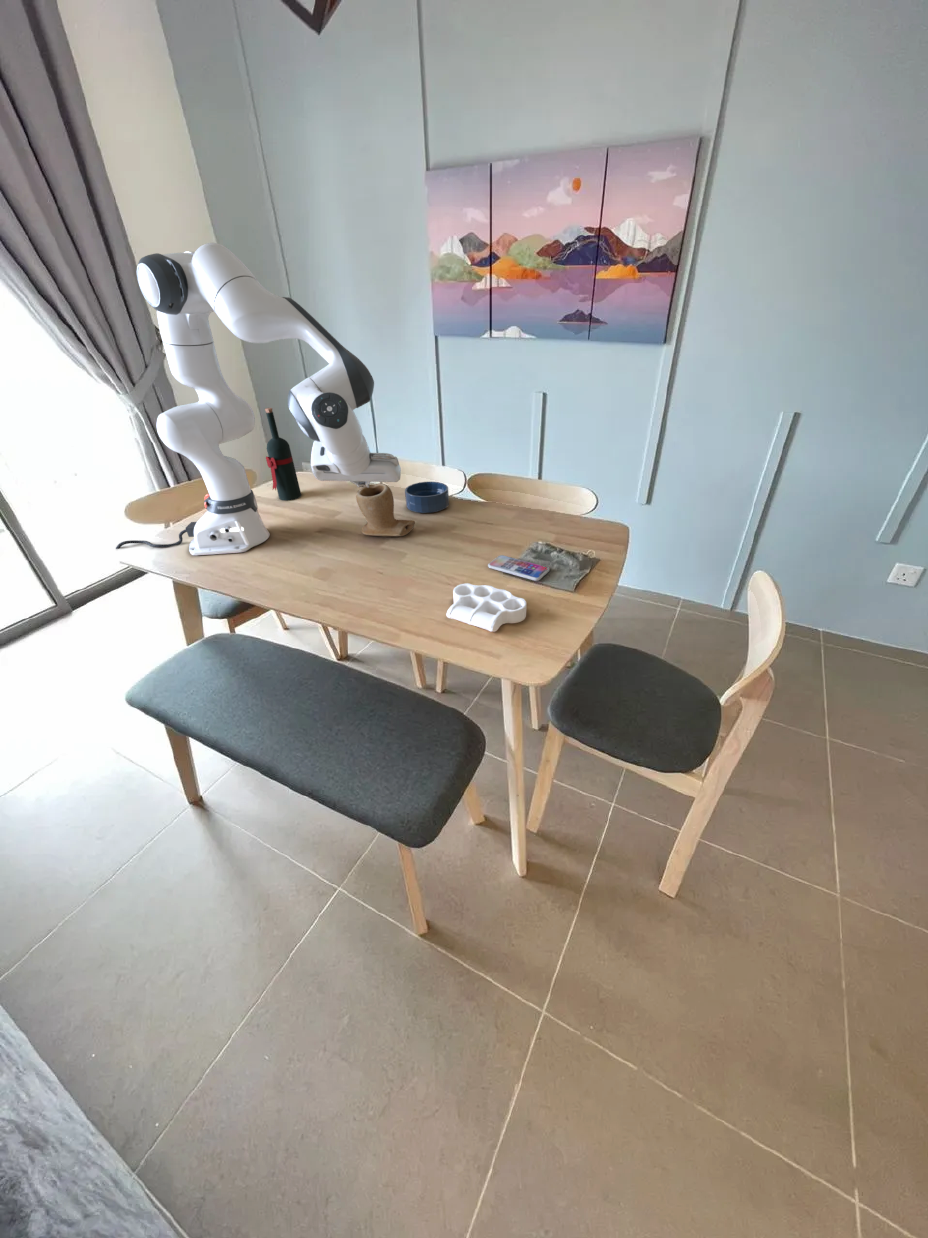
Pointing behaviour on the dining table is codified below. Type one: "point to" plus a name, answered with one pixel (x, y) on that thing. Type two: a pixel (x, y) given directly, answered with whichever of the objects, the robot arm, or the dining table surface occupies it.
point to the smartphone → (518, 567)
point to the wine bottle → (281, 463)
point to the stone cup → (381, 512)
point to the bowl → (427, 497)
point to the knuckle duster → (486, 606)
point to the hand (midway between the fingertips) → (363, 484)
